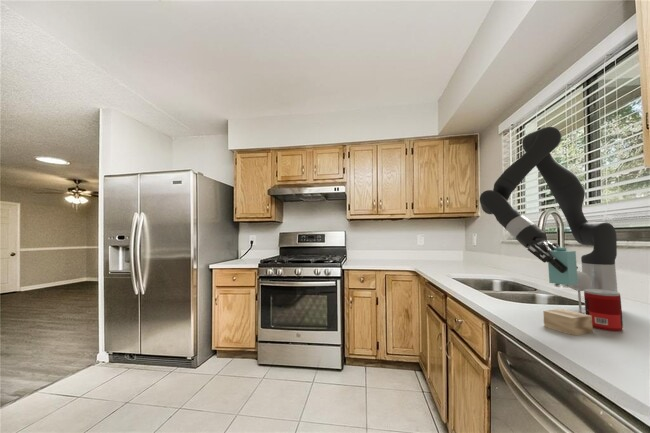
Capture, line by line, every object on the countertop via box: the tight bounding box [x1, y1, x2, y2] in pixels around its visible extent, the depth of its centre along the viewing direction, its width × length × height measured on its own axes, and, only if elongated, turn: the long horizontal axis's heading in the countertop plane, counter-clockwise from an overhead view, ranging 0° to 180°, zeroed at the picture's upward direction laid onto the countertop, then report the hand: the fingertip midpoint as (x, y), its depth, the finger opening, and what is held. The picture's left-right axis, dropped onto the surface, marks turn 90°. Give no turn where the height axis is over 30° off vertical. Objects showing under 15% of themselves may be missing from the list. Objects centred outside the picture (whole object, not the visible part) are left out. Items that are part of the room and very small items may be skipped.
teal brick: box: [547, 247, 578, 286], centre depth 84 cm, size 5×5×11 cm
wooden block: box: [542, 308, 594, 336], centre depth 82 cm, size 8×8×5 cm
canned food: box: [583, 289, 624, 332], centre depth 84 cm, size 8×8×11 cm
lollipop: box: [567, 270, 592, 314], centre depth 99 cm, size 7×7×15 cm
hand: (570, 270), depth 82 cm, fingers closed on teal brick, 5 cm apart
